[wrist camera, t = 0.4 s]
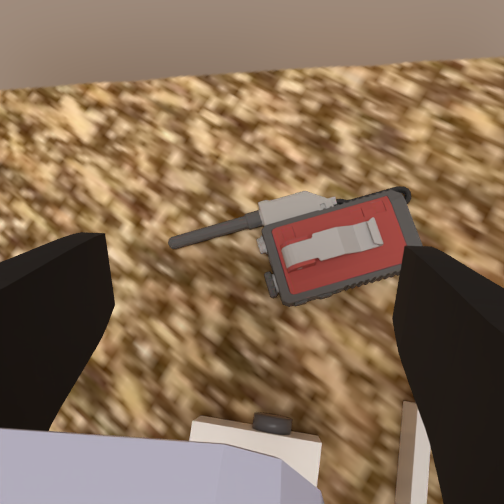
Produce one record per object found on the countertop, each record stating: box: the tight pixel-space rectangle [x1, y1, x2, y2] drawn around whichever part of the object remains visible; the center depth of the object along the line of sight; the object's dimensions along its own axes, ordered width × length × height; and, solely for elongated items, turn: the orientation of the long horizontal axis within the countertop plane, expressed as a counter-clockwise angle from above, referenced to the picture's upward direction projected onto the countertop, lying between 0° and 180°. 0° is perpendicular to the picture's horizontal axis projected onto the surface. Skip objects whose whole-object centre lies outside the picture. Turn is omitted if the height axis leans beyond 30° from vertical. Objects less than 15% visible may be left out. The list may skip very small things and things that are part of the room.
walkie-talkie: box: [168, 187, 422, 307], centre depth 37 cm, size 9×4×20 cm
